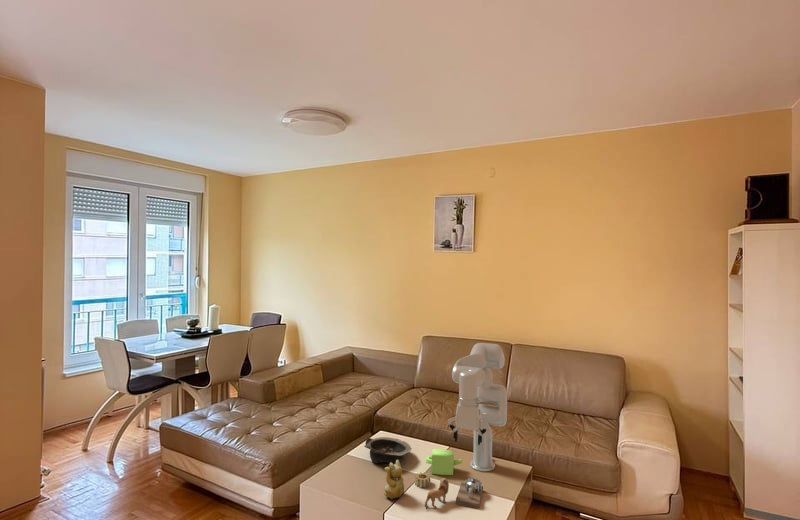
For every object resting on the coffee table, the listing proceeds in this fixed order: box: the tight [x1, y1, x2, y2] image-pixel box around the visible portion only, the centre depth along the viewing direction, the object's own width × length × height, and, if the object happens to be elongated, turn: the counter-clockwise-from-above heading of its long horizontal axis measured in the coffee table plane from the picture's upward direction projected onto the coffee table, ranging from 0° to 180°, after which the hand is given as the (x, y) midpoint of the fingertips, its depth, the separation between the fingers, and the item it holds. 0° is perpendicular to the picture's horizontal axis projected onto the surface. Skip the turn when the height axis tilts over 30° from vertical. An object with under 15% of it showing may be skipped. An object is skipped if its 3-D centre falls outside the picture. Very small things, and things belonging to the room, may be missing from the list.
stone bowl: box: [363, 436, 413, 465], centre depth 226 cm, size 25×25×9 cm
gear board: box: [455, 482, 484, 509], centre depth 190 cm, size 15×10×6 cm, turn 162°
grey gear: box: [464, 477, 483, 493], centre depth 193 cm, size 7×7×4 cm
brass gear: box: [414, 472, 431, 489], centre depth 200 cm, size 7×7×4 cm
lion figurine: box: [424, 477, 450, 510], centre depth 184 cm, size 15×5×9 cm, turn 137°
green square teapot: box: [425, 448, 463, 476], centre depth 214 cm, size 18×10×10 cm, turn 84°
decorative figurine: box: [383, 460, 405, 501], centre depth 190 cm, size 10×8×15 cm
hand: (467, 442), depth 177 cm, fingers open, 9 cm apart
